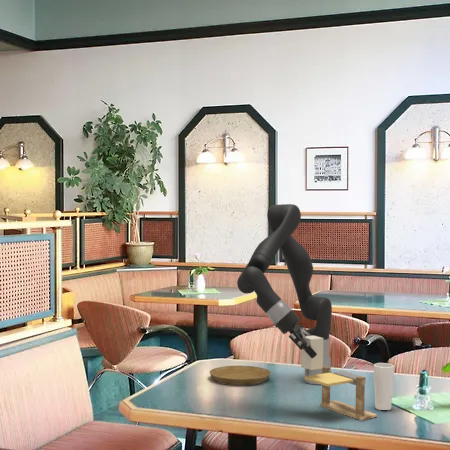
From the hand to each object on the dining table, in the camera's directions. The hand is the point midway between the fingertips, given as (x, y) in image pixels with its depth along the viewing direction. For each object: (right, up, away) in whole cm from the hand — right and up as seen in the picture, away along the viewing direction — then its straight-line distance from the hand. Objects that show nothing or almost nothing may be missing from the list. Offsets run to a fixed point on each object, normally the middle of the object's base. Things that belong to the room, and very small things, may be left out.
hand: (316, 354), depth 236 cm
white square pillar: (-2, -5, +1) cm, 5 cm away
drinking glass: (+23, -20, +8) cm, 32 cm away
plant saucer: (-24, -19, +47) cm, 56 cm away
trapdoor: (+6, -10, 0) cm, 11 cm away
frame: (+11, -20, +4) cm, 23 cm away
